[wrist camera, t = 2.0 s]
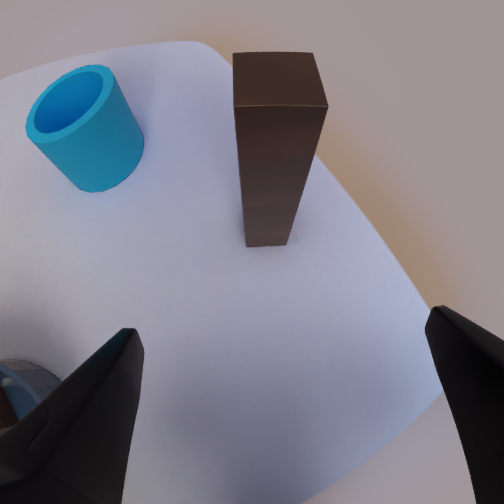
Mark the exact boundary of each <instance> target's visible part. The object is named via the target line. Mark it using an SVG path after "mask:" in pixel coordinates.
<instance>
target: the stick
mask: <svg viewBox="0 0 504 504" xmlns="http://www.w3.org/2000/svg"><path fill="white" fill-rule="evenodd" d="M233 106H234V119H235V130H236V141H237V153H238V164H239V175H240V186H241V197H242V208H243V219H244V230H245V241H246V247H261V246H281V245H286V243H287V240H288V237H289V234H290V231H291V228H292V225H293V222H294V219H295V215H296V212H297V209H298V206H299V203H300V200H301V196H302V193H303V190H304V187H305V184H306V180H307V177H308V174H309V171H310V167H311V164H312V161H313V157H314V154H315V151H316V147H317V144H318V141H319V137H320V134H321V130H322V127H323V124H324V120H325V117H326V113H327V110H328V103H327V99H326V96H325V92H324V89H323V85H322V81H321V79H320V75H319V72H318V68H317V65H316V61H315V59H314V55H313V53H305V52H245V53H244V52H243V53H233Z"/></svg>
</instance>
